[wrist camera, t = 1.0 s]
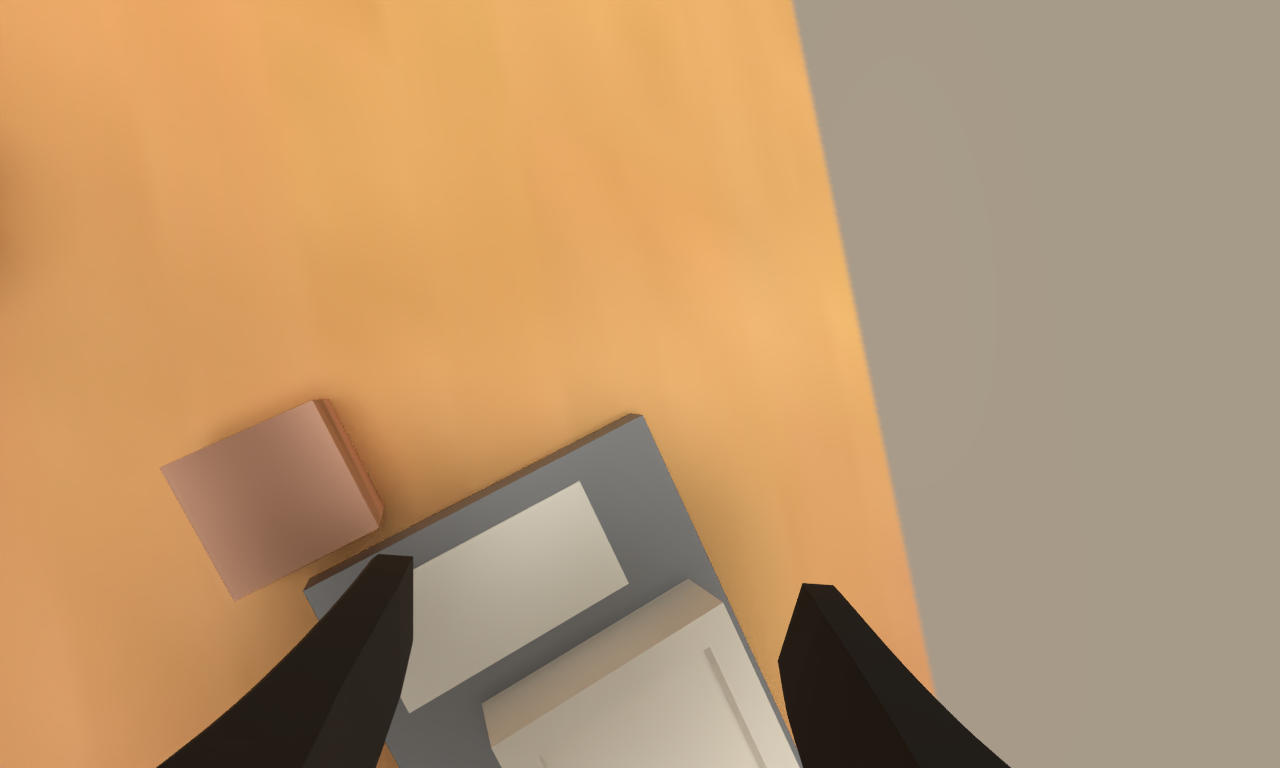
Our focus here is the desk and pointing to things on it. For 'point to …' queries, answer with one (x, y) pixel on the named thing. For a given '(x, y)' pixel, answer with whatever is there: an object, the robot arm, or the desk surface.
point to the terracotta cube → (276, 496)
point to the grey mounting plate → (530, 583)
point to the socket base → (644, 697)
